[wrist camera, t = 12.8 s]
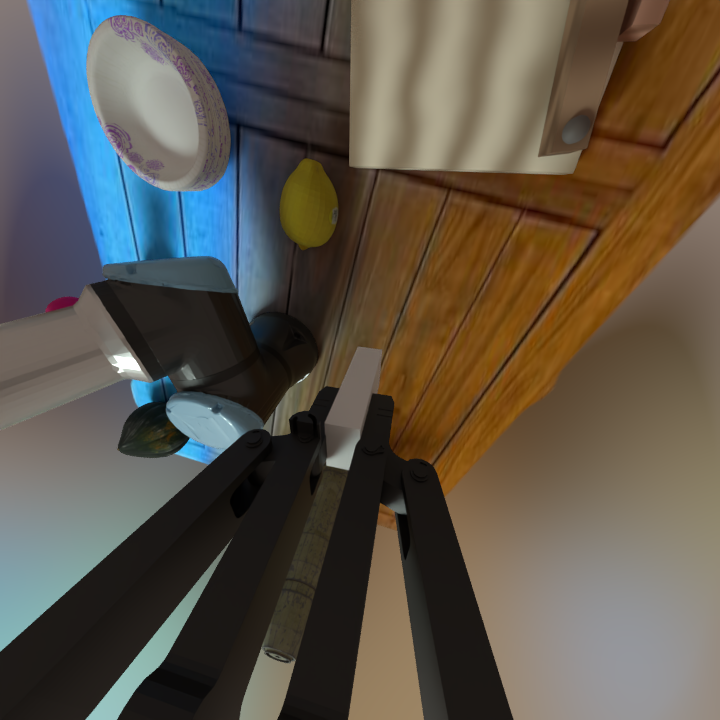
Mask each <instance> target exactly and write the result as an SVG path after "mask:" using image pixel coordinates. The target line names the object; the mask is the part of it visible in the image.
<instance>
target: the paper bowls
mask: <svg viewBox="0 0 720 720" xmlns="http://www.w3.org/2000/svg"><path fill="white" fill-rule="evenodd" d="M87 80H88V86H89V91H90V95H91V99H92V104H93V106H94V110H95V112H96V115H97V118H98V120H99V122H100V125H101V127H102V129H103V131H104V133H105V135H106V137H107V138H108V140H109V142H110V143H111V145H112V146H113V148H114V149H115V151H116V152H117V154H118V155H119V156H120V157H121V159H122V160H123V161H124V162H125V163H126V164H127V166H128V167H129V168H130V169H131V170H132V171H133V172H135V173H136V174H137V175H138V176H139V177H141V178H142V179H143V180H145V181H146V182H148V183H150V184H151V185H153V186H155V187H158V188H160V189H163V190H167V191H202V190H205V189H208V188H210V187H212V186H213V185H215V184H216V183H217V182H218V181H219V180H220V179H221V178H222V176H223V175H224V173H225V170H226V168H227V164H228V161H229V155H230V146H231V136H230V128H229V122H228V116H227V112H226V108H225V105H224V102H223V100H222V97H221V94H220V92H219V90H218V87H217V85H216V83H215V81H214V80H213V78H212V77H211V75H210V73H209V72H208V70H207V69H206V67H205V66H204V65H203V63H202V62H201V61H200V60H199V58H198V57H197V56H196V55H195V54H194V53H192V52H191V51H190V50H189V49H188V48H187V47H185V46H184V45H182V44H181V43H180V42H178V41H177V40H175V39H174V38H172V37H170V36H169V35H167V34H166V33H164V32H162V31H161V30H159V29H158V28H156V27H155V26H153V25H152V24H150V23H148V22H146V21H143V20H141V19H138V18H136V17H132V16H126V15H119V16H113V17H110V18H108V19H106V20H105V21H103V22H102V23H101V24H100V25H99V26H98V28H97V29H96V30H95V32H94V34H93V35H92V37H91V40H90V44H89V47H88V53H87Z"/></svg>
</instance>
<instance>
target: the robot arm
mask: <svg viewBox="0 0 720 720" xmlns="http://www.w3.org/2000/svg"><path fill="white" fill-rule="evenodd" d="M103 276H104V277H105V278H108V280H106V281H102V282H98V283H93V284H89V285H86V286H85V288H84V290H83V292H82V294H81V296H80V298H79V300H78V301H77V302H76V303H75V304H74V305H73V306H69V307H65V308H61V309H57V310H53V311H50V312H46V313H42V314H38V315H34V316H31V317H26V318H23V319H19V320H15V321H11V322H7V323H4V324H0V430H3V429H5V428H8V427H10V426H13V425H15V424H17V423H20V422H22V421H25V420H27V419H29V418H32V417H34V416H37V415H39V414H42V413H44V412H46V411H49V410H51V409H54V408H56V407H59V406H61V405H63V404H66V403H68V402H71V401H73V400H75V399H78V398H80V397H83V396H85V395H87V394H90V393H92V392H95V391H97V390H100V389H102V388H104V387H107V386H109V385H112V384H114V383H116V382H119V381H121V380H124V379H134V380H139V381H144V382H149V383H151V382H154V381H156V380H159V379H161V378H163V377H165V376H168V377H169V378H170V380H171V381H172V383H173V385H174V386H175V388H176V390H177V393H175V394H173V395H172V396H171V397H170V399H169V401H168V402H167V405H166V413H167V416H168V418H169V419H170V421H171V422H172V423H173V424H174V426H175V427H177V428H178V429H179V430H180V431H181V432H182V433H184V434H185V435H187V436H188V437H190V438H192V439H193V440H195V441H197V442H200V443H202V444H204V445H207V446H210V447H213V448H217V449H225V451H224V452H223V453H222V454H221V455H219V456H218V457H217V458H216V459H215V460H214V461H213V462H212V463H211V464H209V465H208V466H207V467H206V468H205V469H204V470H203V471H202V472H200V473H199V474H198V475H197V476H196V477H195V478H194V479H193V480H192V481H190V482H189V483H188V484H187V485H186V486H185V487H184V488H183V489H182V490H180V491H179V492H178V493H177V494H176V495H175V496H174V497H173V498H171V499H170V500H169V501H168V502H167V503H166V504H165V505H164V506H163V507H161V508H160V509H159V510H158V511H157V512H156V513H155V514H154V515H152V516H151V517H150V518H149V519H148V520H147V521H146V522H145V523H144V524H142V525H141V526H140V527H139V528H138V529H137V530H136V531H135V532H133V533H132V534H131V535H130V536H129V537H128V538H127V539H126V540H125V541H123V542H122V543H121V544H120V545H119V546H118V547H117V548H116V549H115V550H113V551H112V552H111V553H110V554H109V555H108V556H107V557H106V558H104V559H103V560H102V561H101V562H100V563H99V564H98V565H97V566H96V567H94V568H93V569H92V570H91V571H90V572H89V573H88V574H87V575H86V576H84V577H83V578H82V579H81V580H80V581H79V582H78V583H77V584H75V585H74V586H73V587H72V588H71V589H70V590H69V591H68V592H66V593H65V595H63V596H62V597H61V598H60V599H59V600H58V601H56V602H55V603H54V604H53V605H52V606H51V607H50V608H49V609H47V610H46V611H45V612H44V613H43V614H42V615H41V616H40V617H39V618H37V619H36V620H35V621H34V622H33V623H32V624H31V625H30V626H29V627H27V628H26V629H25V630H24V631H23V632H22V633H21V634H20V635H18V636H17V637H16V638H15V639H14V640H13V641H12V642H11V643H10V644H9V645H8V646H6V647H5V648H4V649H3V650H2V651H1V652H0V720H85V719H86V718H87V717H88V716H89V714H91V712H92V711H93V710H94V709H95V707H96V706H97V705H98V704H99V702H100V701H101V700H102V699H103V697H104V696H105V695H106V694H107V693H108V691H109V690H110V689H111V688H112V686H113V685H114V684H115V683H116V681H117V680H118V679H119V678H120V676H121V675H122V674H123V673H124V672H125V670H126V669H127V668H128V667H129V665H130V664H131V663H132V662H133V660H134V659H135V658H136V657H137V655H138V654H139V653H140V652H141V650H142V649H143V648H144V647H145V646H146V644H147V643H148V642H149V640H150V639H151V638H152V637H153V635H154V634H155V633H156V632H157V631H158V629H159V628H160V627H161V626H162V624H163V623H164V622H165V621H166V620H167V618H168V617H169V616H170V615H171V613H172V612H173V611H174V610H175V608H176V607H177V606H178V605H179V603H180V602H181V601H182V600H183V598H184V597H185V596H186V595H187V594H188V592H189V591H190V590H191V588H192V587H193V586H194V585H195V583H196V582H197V581H198V580H199V578H200V577H201V576H202V575H203V574H204V572H205V571H206V570H207V569H208V568H209V566H210V565H211V564H212V562H213V561H214V560H215V559H216V558H217V556H218V555H219V554H220V553H221V551H222V550H223V549H224V548H225V546H226V545H227V544H228V543H229V541H230V540H231V539H232V540H231V542H230V544H229V546H228V548H227V549H226V551H225V553H224V555H223V557H222V558H221V560H220V562H219V564H218V565H217V567H216V569H215V571H214V573H213V574H212V576H211V578H210V580H209V582H208V584H207V585H206V587H205V589H204V591H203V592H202V594H201V596H200V598H199V600H198V601H197V603H196V605H195V607H194V608H193V610H192V612H191V614H190V616H189V618H188V619H187V621H186V623H185V625H184V626H183V628H182V630H181V632H180V634H179V636H178V637H177V639H176V641H175V643H174V644H173V646H172V648H171V650H170V652H169V653H168V655H167V657H166V658H165V660H164V661H163V662H162V664H161V665H160V666H159V667H158V668H157V669H156V670H155V671H154V672H152V673H151V674H150V675H149V676H148V677H146V678H145V679H144V681H143V682H142V683H141V684H140V685H139V687H138V688H137V689H136V690H135V692H134V693H133V695H132V696H131V698H130V699H129V701H128V703H127V704H126V706H125V707H124V709H123V710H122V712H121V714H120V715H119V717H118V719H117V720H239V717H240V711H241V705H242V702H243V698H244V695H245V692H246V689H247V686H248V683H249V680H250V678H251V675H252V672H253V670H254V667H255V664H256V661H257V658H258V656H259V653H260V650H261V647H262V644H263V642H264V639H265V636H266V633H267V630H268V628H269V625H270V622H271V619H272V617H273V614H274V611H275V608H276V605H277V603H278V600H279V597H280V594H281V591H282V589H283V586H284V583H285V580H286V577H287V575H288V572H289V569H290V566H291V563H292V561H293V558H294V555H295V552H296V550H297V547H298V544H299V541H300V538H301V536H302V533H303V530H304V527H305V524H306V522H307V519H308V516H309V513H310V510H311V508H312V505H313V502H314V499H315V496H316V494H317V491H318V488H319V485H320V483H321V480H322V477H323V466H324V463H325V461H326V466H331V467H336V468H341V469H346V470H349V471H348V475H347V478H346V482H345V486H344V489H343V493H342V496H341V500H340V504H339V507H338V511H337V514H336V518H335V522H334V525H333V529H332V532H331V536H330V540H329V543H328V547H327V550H326V554H325V558H324V561H323V565H322V568H321V572H320V576H319V579H318V583H317V586H316V590H315V594H314V597H313V601H312V604H311V608H310V612H309V615H308V619H307V622H306V626H305V630H304V633H303V637H302V640H301V644H300V647H299V651H298V655H297V658H296V662H295V666H294V669H293V673H292V677H291V680H290V683H289V687H288V691H287V694H286V698H285V701H284V704H283V707H282V710H281V712H280V715H279V717H278V719H277V720H348V716H349V709H350V703H351V696H352V688H353V682H354V675H355V669H356V661H357V654H358V648H359V642H360V635H361V628H362V621H363V614H364V608H365V601H366V594H367V587H368V581H369V574H370V567H371V560H372V553H373V546H374V539H375V533H376V526H377V519H378V513H379V506H380V503H382V504H384V505H385V506H387V507H389V508H390V509H392V510H393V511H395V517H396V524H397V531H398V538H399V546H400V553H401V560H402V567H403V573H404V580H405V588H406V594H407V602H408V609H409V616H410V623H411V630H412V637H413V644H414V651H415V659H416V666H417V672H418V680H419V687H420V694H421V701H422V708H423V715H424V720H513V717H512V714H511V710H510V707H509V704H508V701H507V698H506V694H505V691H504V688H503V685H502V681H501V678H500V675H499V672H498V669H497V666H496V662H495V659H494V656H493V653H492V650H491V646H490V643H489V640H488V636H487V633H486V630H485V627H484V623H483V620H482V617H481V614H480V611H479V607H478V604H477V601H476V598H475V594H474V591H473V588H472V585H471V582H470V578H469V575H468V572H467V569H466V565H465V562H464V559H463V556H462V553H461V549H460V546H459V543H458V540H457V536H456V533H455V530H454V527H453V524H452V520H451V517H450V514H449V511H448V507H447V504H446V501H445V498H444V495H443V491H442V488H441V485H440V482H439V478H438V475H437V473H436V471H435V469H434V467H433V466H432V465H431V464H430V463H428V462H426V461H424V460H422V459H410V460H409V461H406V460H404V459H402V458H400V457H398V456H397V455H396V454H395V453H393V451H392V450H391V448H390V446H389V437H390V430H391V423H392V416H393V409H394V401H393V399H392V397H391V396H387V395H381V394H377V391H378V387H379V378H380V368H381V358H382V350H379V349H372V348H365V347H358V348H357V350H356V352H355V355H354V357H353V359H352V362H351V364H350V366H349V368H348V371H347V373H346V375H345V378H344V380H343V382H342V384H341V387H340V388H334V387H328V386H326V387H325V388H323V389H322V390H321V391H319V393H318V395H317V397H316V399H315V401H314V402H313V405H312V406H311V408H310V410H309V411H302V412H298V413H296V414H294V415H292V417H291V418H290V419H289V423H290V430H291V433H290V434H288V435H282V436H270V434H269V432H267V431H266V430H263V429H262V428H263V427H264V425H265V423H266V422H267V420H268V419H269V417H270V416H271V414H272V413H273V411H274V410H275V408H276V407H277V405H278V404H279V402H280V401H281V399H282V398H283V396H284V395H285V393H286V392H287V390H288V389H289V388H290V387H292V386H293V385H294V384H295V383H298V382H300V381H302V380H303V379H305V378H306V377H307V376H308V375H309V374H310V373H311V371H312V370H313V368H314V367H315V365H316V362H317V358H318V349H317V345H316V342H315V340H314V338H313V336H312V334H311V333H310V331H309V330H308V329H307V328H306V327H305V326H304V325H303V324H302V323H301V322H299V321H298V320H297V319H295V318H293V317H291V316H289V315H286V314H283V313H278V312H269V313H264V314H262V315H260V316H258V317H256V318H255V319H254V320H252V321H251V322H250V323H249V322H248V320H247V317H246V314H245V312H244V309H243V307H242V304H241V301H240V299H239V296H238V290H237V289H236V288H235V286H234V284H233V282H232V280H231V277H230V275H229V273H228V271H227V269H226V267H225V265H224V264H223V263H222V262H221V261H220V260H218V259H216V258H214V257H210V256H197V257H182V258H169V259H156V260H144V261H133V262H124V263H113V264H106V265H104V267H103Z"/></svg>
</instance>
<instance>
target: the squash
mask: <svg viewBox="0 0 720 720" xmlns="http://www.w3.org/2000/svg"><path fill="white" fill-rule="evenodd" d="M166 405H167V404H166V403H163V402H151V403H147V404H145V405H143V406H141V407H139V408H138V409H136V410H135V411H134V412H133V413H132V414H131V415H130V416H129V417H128V419H127V420H126V422H125V424H124V426H123V430H122V434H121V438H120V441H119V444H118V449H117V450H119V451H120V452H121V453H123V454H126V455H130V456H136V457H147V458H159V457H167V456H169V455H172V454H174V453H176V452H178V451H179V450H180V449H181V448H182V447H183V446H184V445H185V444H186V443H187V441H188V440H189V438H190V437H188V436H187V435H185V434H184V433H182V432H181V431H180V430H179V429H178V428H177V427H175V426H174V424H173V423H172V422H171V421H170V419H169V418H168V416H167V413H166Z"/></svg>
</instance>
